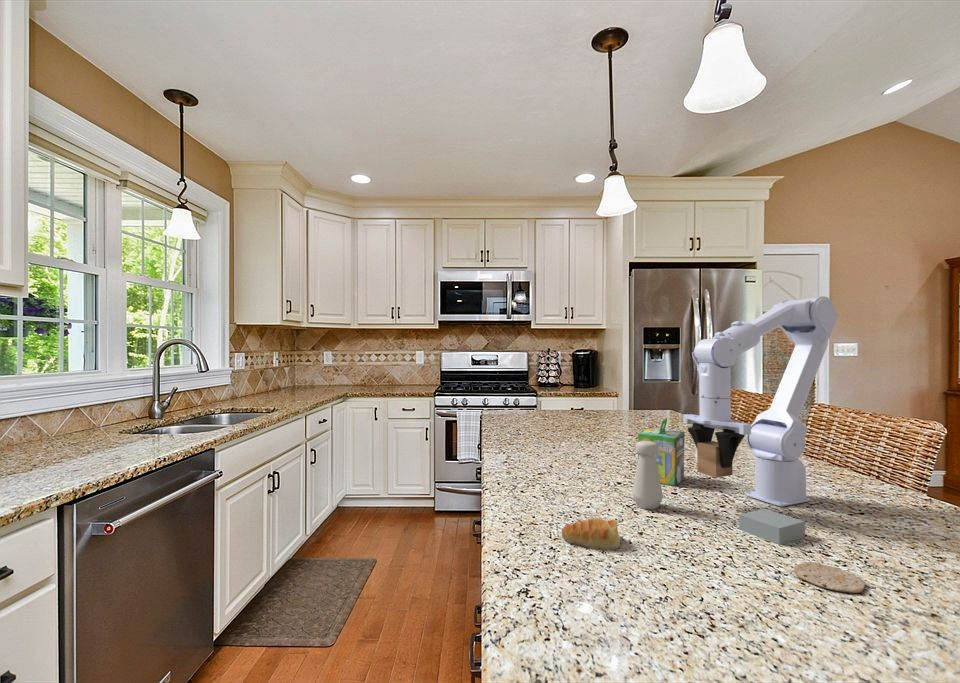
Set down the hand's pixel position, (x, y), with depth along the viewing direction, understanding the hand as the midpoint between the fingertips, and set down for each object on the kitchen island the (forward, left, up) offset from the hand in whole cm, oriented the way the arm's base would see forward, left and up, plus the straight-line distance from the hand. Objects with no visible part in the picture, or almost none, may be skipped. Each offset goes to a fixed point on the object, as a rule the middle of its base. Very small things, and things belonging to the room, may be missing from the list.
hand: (715, 464), depth 94 cm
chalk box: (-4, -19, -9) cm, 21 cm away
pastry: (+33, +5, -9) cm, 35 cm away
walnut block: (0, 0, -2) cm, 2 cm away
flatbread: (+11, +28, -9) cm, 31 cm away
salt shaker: (+13, -5, -9) cm, 16 cm away
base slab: (+3, +14, -9) cm, 17 cm away
